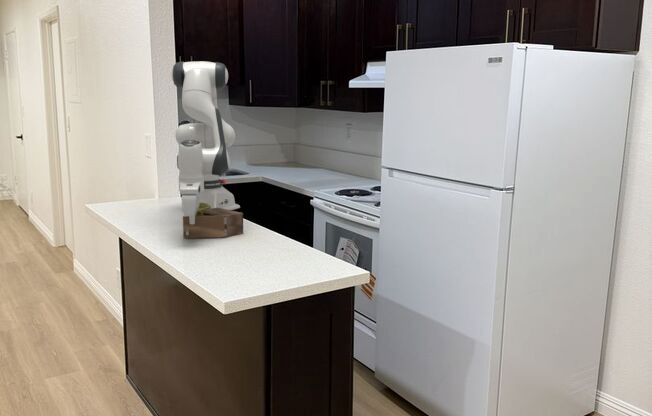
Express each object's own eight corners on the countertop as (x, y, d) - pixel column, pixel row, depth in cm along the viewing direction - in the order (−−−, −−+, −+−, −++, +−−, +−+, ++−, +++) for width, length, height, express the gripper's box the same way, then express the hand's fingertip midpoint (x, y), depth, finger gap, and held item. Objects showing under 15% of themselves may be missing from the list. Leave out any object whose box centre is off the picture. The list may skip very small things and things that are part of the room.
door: (183, 237, 217) (183, 216, 215) (227, 236, 219) (226, 215, 218) (183, 239, 214) (182, 217, 213) (227, 237, 217) (226, 216, 215)
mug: (190, 215, 246) (194, 195, 241) (213, 224, 244) (217, 204, 240) (176, 227, 235) (180, 206, 230) (199, 236, 234) (204, 215, 229)
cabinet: (218, 227, 235) (217, 207, 233) (243, 233, 225) (243, 212, 224) (202, 230, 229) (201, 210, 227) (227, 237, 219) (226, 216, 218)
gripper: (185, 182, 221) (186, 218, 223) (178, 190, 201) (180, 229, 203) (202, 182, 222) (203, 218, 224) (197, 189, 202) (198, 229, 204)
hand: (192, 223), depth 214 cm, fingers closed
